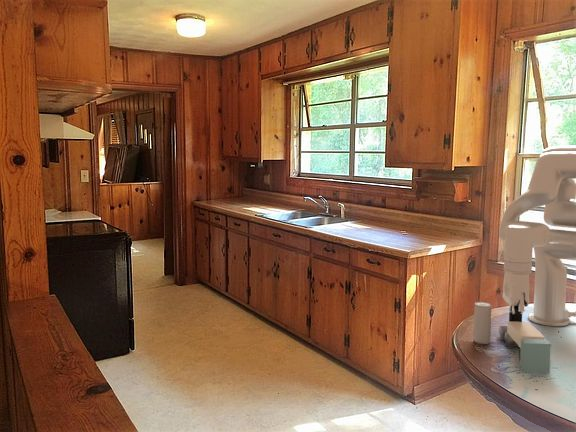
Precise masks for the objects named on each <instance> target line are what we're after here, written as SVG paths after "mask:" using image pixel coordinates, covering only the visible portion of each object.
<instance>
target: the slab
mask: <svg viewBox="0 0 576 432" xmlns="http://www.w3.org/2000/svg"><path fill="white" fill-rule="evenodd" d="M506 326H507V333H508V334H509V335H510V336H511V338H512V339H513V340H514V341H515V342H516V343H517V344H518V345H519V346H518V347H519V348H520V349H521V339H541V340H546V339H545V335H544V334H543V333H542V332H540V330H538V328H536V327H535V326H534V325H533V324H531V322H530V321H522V322H512V321H509V320H508V321H507V325H506Z"/></svg>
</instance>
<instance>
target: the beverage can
mask: <svg viewBox="0 0 576 432" xmlns="http://www.w3.org/2000/svg"><path fill="white" fill-rule="evenodd" d="M473 307H474V308H473V313H474V314H473V341H474V342H475V343H476V344H479V345H488V344H490V343H491V332H492V331H491V327H492V326H491V325H492V305H491V303H489V302H486V301H477V302H474V306H473Z"/></svg>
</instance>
